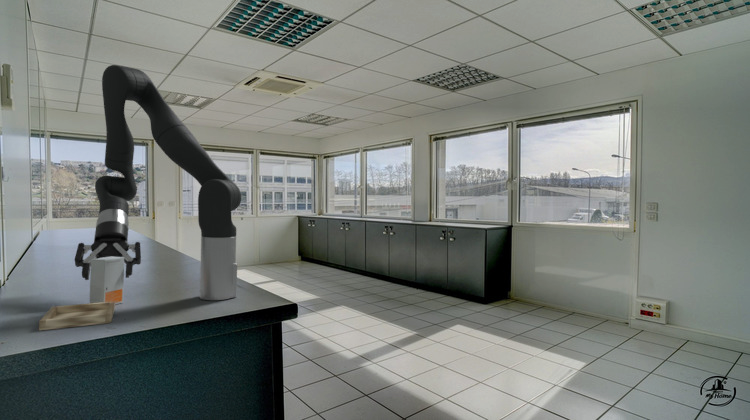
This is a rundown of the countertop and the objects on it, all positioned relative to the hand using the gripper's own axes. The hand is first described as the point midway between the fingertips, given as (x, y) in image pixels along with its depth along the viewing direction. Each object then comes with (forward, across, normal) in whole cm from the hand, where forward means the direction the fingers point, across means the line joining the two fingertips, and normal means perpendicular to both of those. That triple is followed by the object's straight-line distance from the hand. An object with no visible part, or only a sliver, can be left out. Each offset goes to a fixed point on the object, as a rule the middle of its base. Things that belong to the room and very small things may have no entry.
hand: (107, 277), depth 98 cm
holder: (+13, -4, -3) cm, 14 cm away
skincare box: (+5, 0, +5) cm, 7 cm away
